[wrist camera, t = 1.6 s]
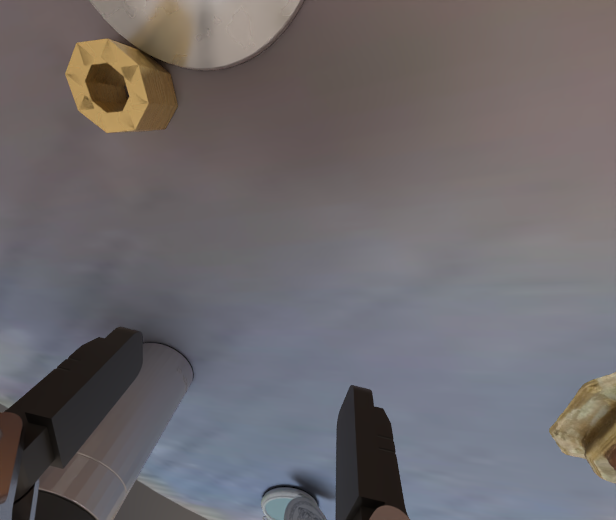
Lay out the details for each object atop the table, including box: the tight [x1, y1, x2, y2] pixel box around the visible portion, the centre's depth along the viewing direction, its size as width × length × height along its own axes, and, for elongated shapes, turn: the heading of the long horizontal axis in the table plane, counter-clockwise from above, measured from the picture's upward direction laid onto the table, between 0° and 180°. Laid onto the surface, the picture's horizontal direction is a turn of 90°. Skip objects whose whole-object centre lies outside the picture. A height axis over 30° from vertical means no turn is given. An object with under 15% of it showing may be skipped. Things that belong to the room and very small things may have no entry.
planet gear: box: [65, 39, 178, 133], centre depth 24 cm, size 6×6×4 cm
